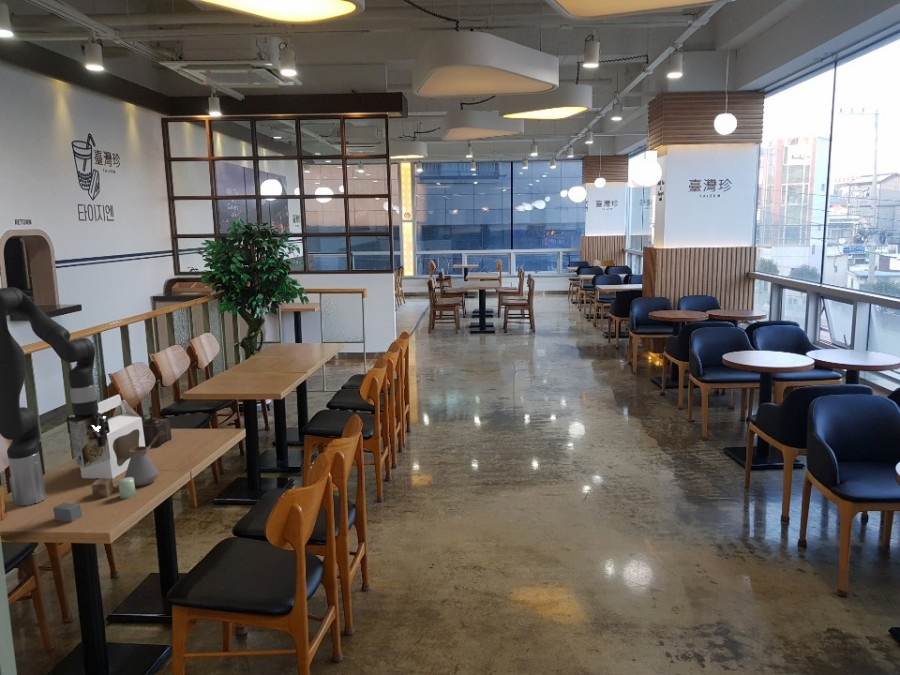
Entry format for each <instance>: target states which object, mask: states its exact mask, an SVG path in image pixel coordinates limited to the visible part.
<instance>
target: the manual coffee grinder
mask: <svg viewBox="0 0 900 675" xmlns="http://www.w3.org/2000/svg"><path fill="white" fill-rule="evenodd" d="M148 409H149V410H148V412H147V413H145V414H144V415H143V416H142V415H141V416H140V417H141V418H142V426H143V433H144V440H145V447H147V448H148V446H149V445H150V443H151V442H152V440H153V439H154V438H155V437H156V436H157V434H158V433H159V432H160V431H163V432H161V434H162V435H161V434H160V436H158V438H157V440H156V441H155V443H154V444H153V445H152V446H151V447H150V448H160V447H162V446H163V445H162V444H164V443H165V442H167V441H169V440H170V441H172V440H173V438H172V431H171V430H172V429H171V422H170V419H164V418H163V419H162V418H161V419H160V418H157V417H154V416H153V411H154V410H153V406H149V407H148ZM133 410H134V411H135V409H134V408H133ZM148 416H150V417H149V418H147V417H148ZM164 433H165V434H164ZM163 434H164V435H163ZM171 439H172V440H171ZM170 441H169V442H170ZM167 443H168V442H167ZM165 444H166V443H165ZM165 444H164V445H165ZM161 445H162V446H161ZM159 446H160V447H159Z"/></svg>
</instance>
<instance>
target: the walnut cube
mask: <svg viewBox="0 0 900 675" xmlns="http://www.w3.org/2000/svg"><path fill="white" fill-rule="evenodd" d="M113 483H114V482H113V479H112V478H111V479H96V480H95V481H93V483H92V484H91V485H90V486H91V491H92V492H91V493H92V498H93V499H96V498H97V499H98V498H99V497H101V498H109V497H110V495H112V494H111V493H112V492H113V491H114V492H115V489H114V485H113ZM99 499H100V498H99Z"/></svg>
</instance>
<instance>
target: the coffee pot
mask: <svg viewBox="0 0 900 675" xmlns="http://www.w3.org/2000/svg"><path fill="white" fill-rule="evenodd" d="M161 432H163V431H160V432H159V433H158V434H157V436H156V437H155V438H154V439H153V440H152V442H151V443H150V445H149V446H148V447H145V446H141V447H135V448H132V449H130V450H129V453H130V454H131V458H130V461H129V465H128V468H127V471H125V475H124V478H126V477H133V478H134V484H135V487H143V486H146V485H149V484H152V483H153V482H154V481H155V479H156V478H157V477H158V475H159V470H158V469H157V467H156V466H155V464H154V463H153V460H151V458H150V457H149V455H148V454H147V453H148V451H149V450H150V448H152V447H151V446H152V445H153V444H154V443H155V441H156V440H157V438H158V436H160V434H161ZM164 434H165V433H164ZM164 434H163V435H164ZM161 435H162V434H161Z"/></svg>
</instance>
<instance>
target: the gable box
mask: <svg viewBox="0 0 900 675" xmlns="http://www.w3.org/2000/svg"><path fill="white" fill-rule="evenodd" d="M97 402H98V409H99V410H98V413H101V414H104V413H106V412H109V411H110V410H112V409H114V408H115V409H114V411H113V414H112V417H110V418H107V419H108V424H109V430H110V432H109V433H107V439H108V445H109V452H110V459H109V460H106V461H104V462H101V463H97V464H95V465H92V466H89V467H86V468H83V467H81V466H79V468H80V475H81V478H82V479H96V478H97V479H96V480H98V478H99V479H111V478H112V480H113V479H115V478H116V476H117V477H118V476H120V475H121V473H122V474H123V473H125V472H126V470H127V468H128V465H129V461H130V458H131V454H130V453H129V450H130V449H132V448H135V447H141V446H145V440H144V433H143V426H142V421H143V419H142V418H141V417H142V416H140V414H138V413H137V411H135V409H134V408H133V407H132V406H131V405H130V404H129V403H128V402H127V401H126V400H125V399H122V397H121V395H120V394H115V395H112V396H110V397H108V398H106V399H103V400H101V401H97ZM133 409H134V410H133ZM124 471H125V472H124Z"/></svg>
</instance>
